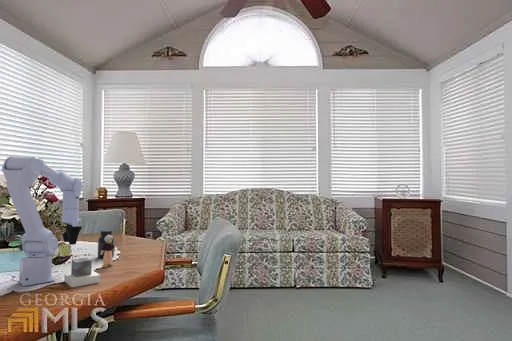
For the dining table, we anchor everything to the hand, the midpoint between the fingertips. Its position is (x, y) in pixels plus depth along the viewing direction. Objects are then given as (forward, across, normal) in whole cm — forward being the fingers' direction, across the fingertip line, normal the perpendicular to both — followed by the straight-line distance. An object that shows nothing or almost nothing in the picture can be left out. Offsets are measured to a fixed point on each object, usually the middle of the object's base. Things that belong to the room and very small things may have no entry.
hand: (69, 243), depth 139 cm
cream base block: (+11, -20, +1) cm, 23 cm away
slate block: (+8, -20, +1) cm, 21 cm away
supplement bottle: (+11, +14, -19) cm, 26 cm away
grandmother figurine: (+11, -3, -14) cm, 18 cm away
